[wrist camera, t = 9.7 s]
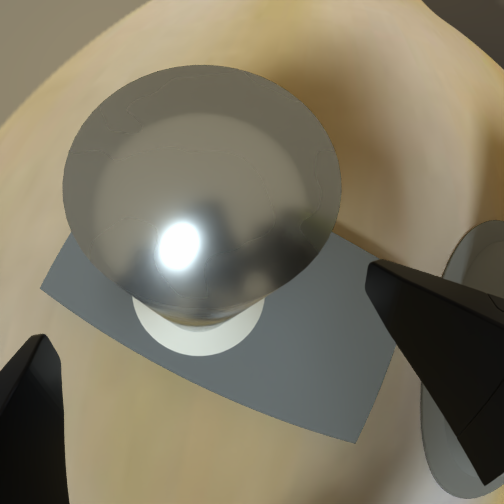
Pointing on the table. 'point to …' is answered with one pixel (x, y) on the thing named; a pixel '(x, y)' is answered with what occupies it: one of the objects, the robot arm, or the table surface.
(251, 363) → the mat
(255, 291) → the metal pin
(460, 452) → the grey tapered cylinder
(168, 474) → the table surface
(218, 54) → the table surface
